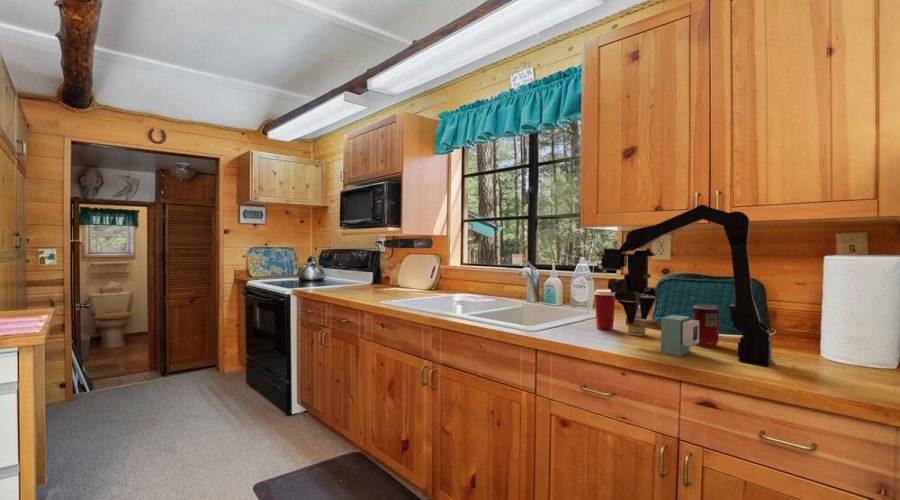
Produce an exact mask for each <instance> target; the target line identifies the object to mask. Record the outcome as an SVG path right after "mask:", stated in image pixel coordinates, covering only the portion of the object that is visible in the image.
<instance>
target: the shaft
mask: <svg viewBox="0 0 900 500" xmlns="http://www.w3.org/2000/svg"><path fill="white" fill-rule="evenodd" d="M625 326H627V327H628V326H635V327H642V328H645V329H649V330H656V331H661V321H660V320H652V319H638V318H635V320H634V322H633V324H629V322H628V319H627V317H626V318H625ZM695 330H696V327H693V335H694V334H695Z"/></svg>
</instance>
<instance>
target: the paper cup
mask: <svg viewBox="0 0 900 500" xmlns="http://www.w3.org/2000/svg"><path fill="white" fill-rule="evenodd" d="M593 294H594V301H595V320H596V324H595V325H596V329H597V330H600V331H613V329H614V322H615V306H616V300H615V292H614V293H611V290H610V289H595V291H594V292H593Z"/></svg>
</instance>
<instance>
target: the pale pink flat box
mask: <svg viewBox="0 0 900 500" xmlns="http://www.w3.org/2000/svg"><path fill="white" fill-rule="evenodd" d="M693 327H696V330H695V334H694V335H693ZM698 343H699V320H692V319H690V320H688V321H685V322H683V345H684V346H690V348H692V347H693V346H697V345H696V344H698Z"/></svg>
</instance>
